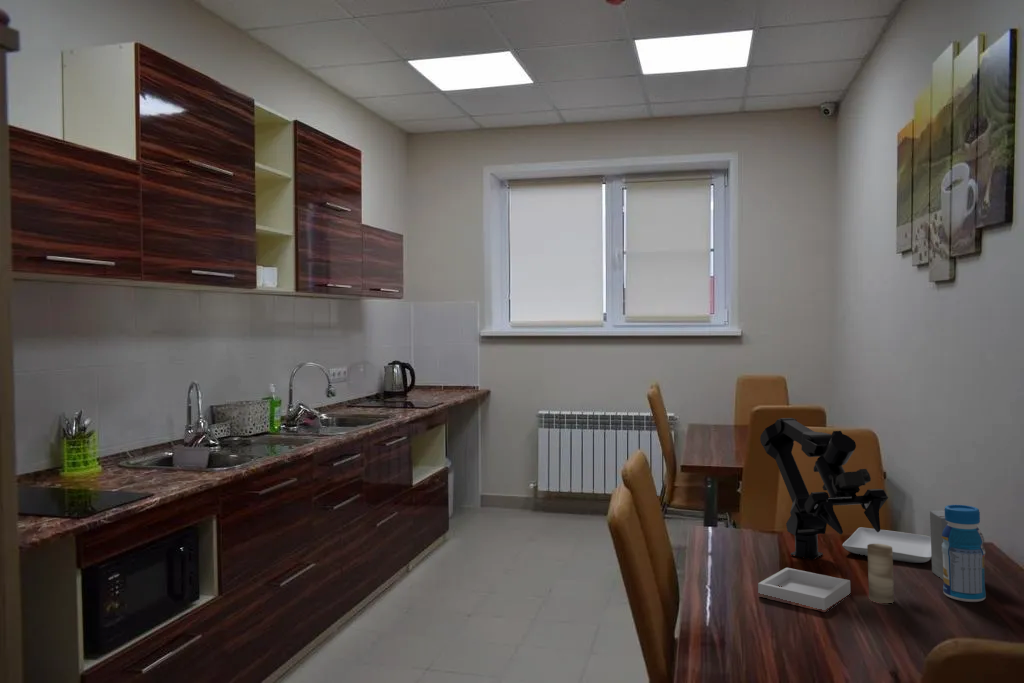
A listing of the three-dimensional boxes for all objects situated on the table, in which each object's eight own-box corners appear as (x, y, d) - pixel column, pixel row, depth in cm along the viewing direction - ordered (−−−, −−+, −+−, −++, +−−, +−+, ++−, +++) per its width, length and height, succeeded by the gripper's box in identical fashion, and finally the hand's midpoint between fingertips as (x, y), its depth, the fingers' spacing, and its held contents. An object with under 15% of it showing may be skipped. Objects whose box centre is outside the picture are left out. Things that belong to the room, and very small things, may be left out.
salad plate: (931, 569, 184) (930, 556, 184) (841, 556, 197) (840, 543, 197) (942, 549, 201) (942, 536, 201) (859, 538, 214) (858, 526, 214)
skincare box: (965, 572, 180) (963, 508, 180) (981, 582, 173) (979, 515, 173) (929, 572, 181) (927, 508, 181) (943, 582, 174) (941, 515, 174)
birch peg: (873, 594, 167) (871, 542, 167) (897, 599, 164) (895, 546, 164) (865, 600, 164) (864, 547, 164) (889, 606, 160) (888, 551, 160)
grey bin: (786, 580, 178) (786, 567, 178) (850, 594, 168) (850, 580, 168) (758, 597, 168) (758, 583, 168) (824, 613, 157) (824, 598, 157)
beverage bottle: (965, 605, 159) (962, 513, 159) (933, 592, 167) (931, 505, 167) (996, 600, 162) (993, 510, 161) (963, 588, 170) (960, 502, 170)
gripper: (808, 459, 176) (834, 515, 165) (882, 455, 177) (912, 511, 166) (794, 485, 183) (817, 541, 172) (864, 481, 185) (892, 537, 174)
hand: (860, 532), depth 171 cm, fingers open, 9 cm apart
